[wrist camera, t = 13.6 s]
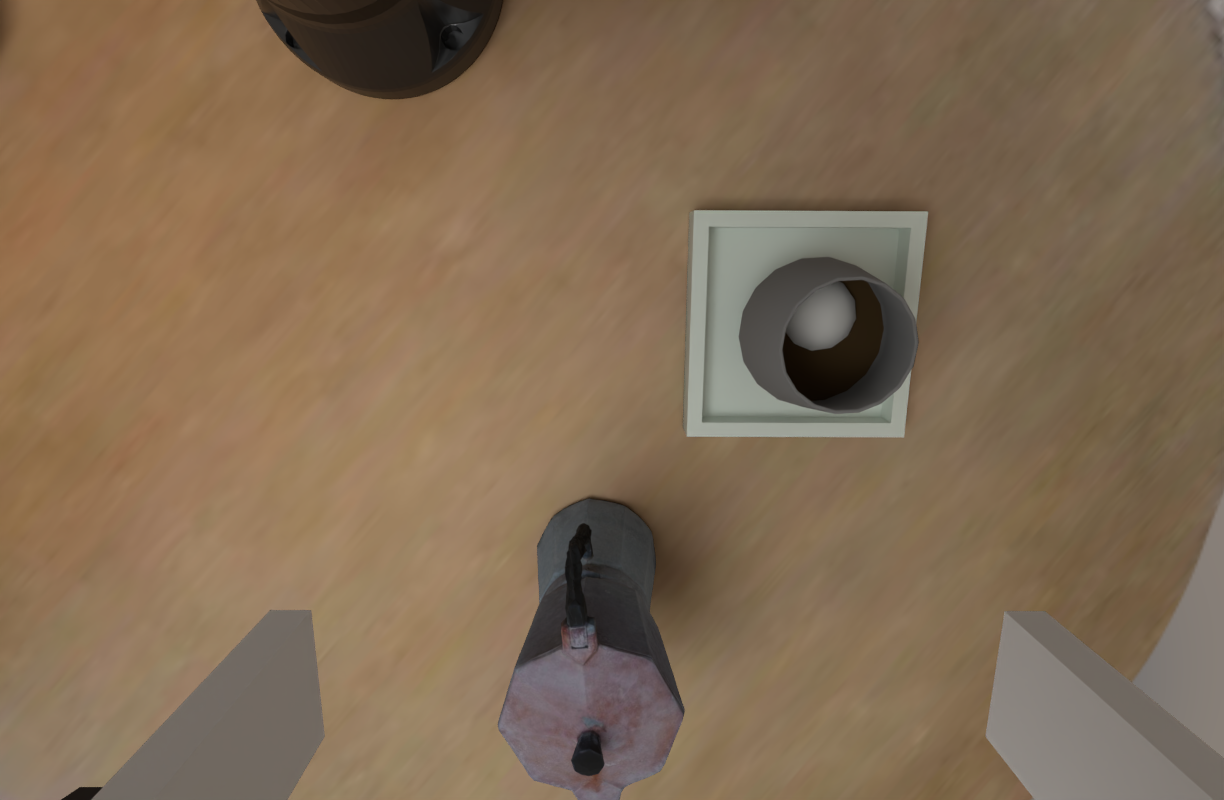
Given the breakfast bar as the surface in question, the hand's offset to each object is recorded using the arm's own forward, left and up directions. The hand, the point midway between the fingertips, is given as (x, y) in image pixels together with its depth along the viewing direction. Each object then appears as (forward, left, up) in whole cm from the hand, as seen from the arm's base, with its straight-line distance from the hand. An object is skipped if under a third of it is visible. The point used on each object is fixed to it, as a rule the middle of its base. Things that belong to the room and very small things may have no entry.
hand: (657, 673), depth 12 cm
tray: (-3, +12, -35) cm, 37 cm away
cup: (-3, +12, -34) cm, 36 cm away
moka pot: (+14, -2, -35) cm, 38 cm away
